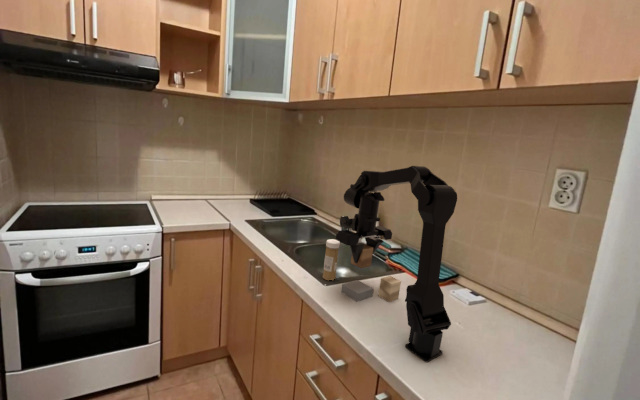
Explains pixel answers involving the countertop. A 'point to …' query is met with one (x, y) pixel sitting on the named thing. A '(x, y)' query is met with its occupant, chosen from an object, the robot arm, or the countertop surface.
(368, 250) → the walnut block
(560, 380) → the countertop surface
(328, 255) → the sprinkles bottle
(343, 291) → the tile block
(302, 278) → the countertop surface
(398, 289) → the maple block
